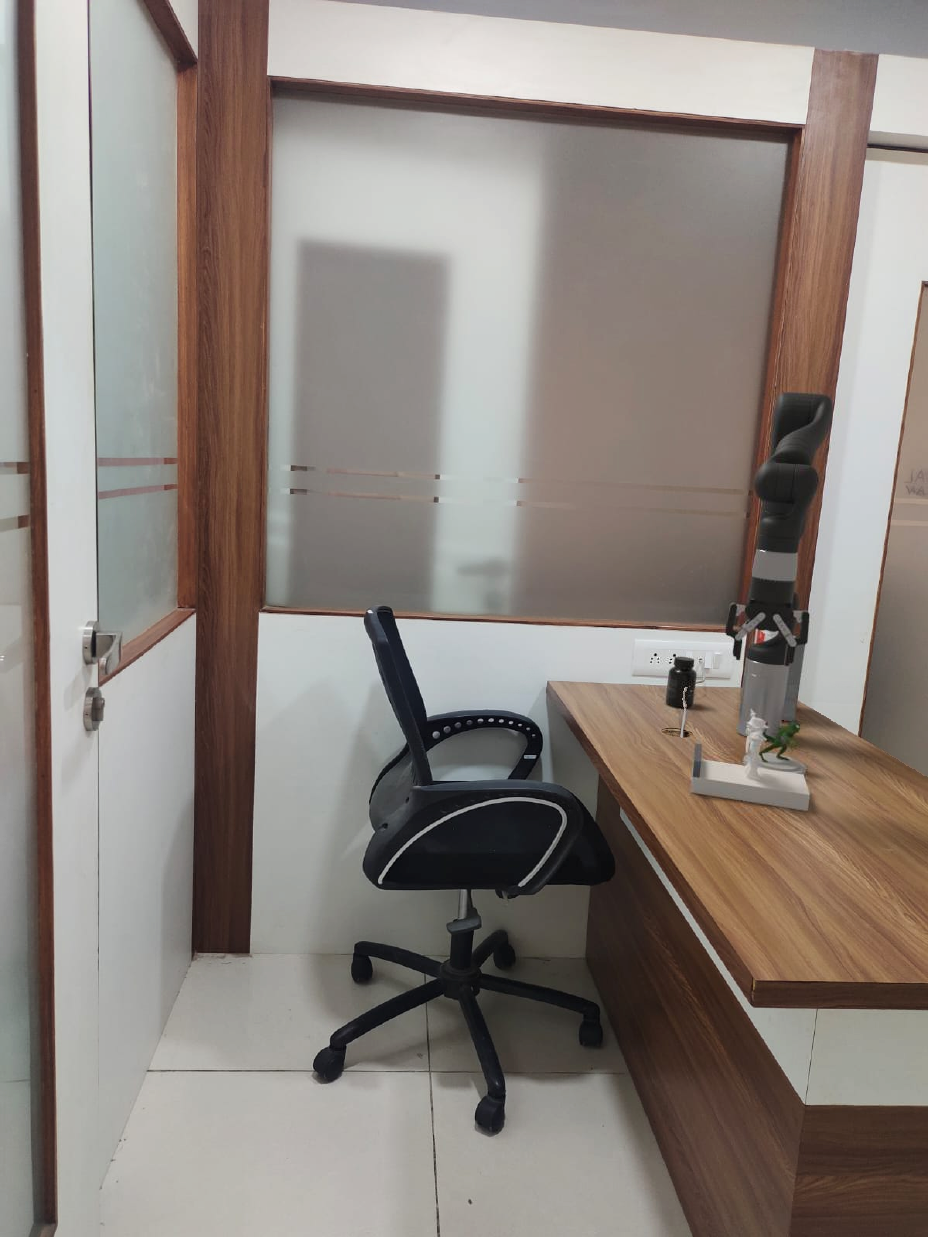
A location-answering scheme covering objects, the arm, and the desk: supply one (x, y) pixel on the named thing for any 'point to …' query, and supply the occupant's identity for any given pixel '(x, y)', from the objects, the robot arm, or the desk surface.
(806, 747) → the desk surface
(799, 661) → the hard drive box
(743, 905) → the desk surface
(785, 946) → the desk surface
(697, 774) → the rail
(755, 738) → the white toy figure
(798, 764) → the monster figurine
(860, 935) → the desk surface
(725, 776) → the shelf board
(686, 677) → the supplement bottle
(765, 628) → the robot arm
